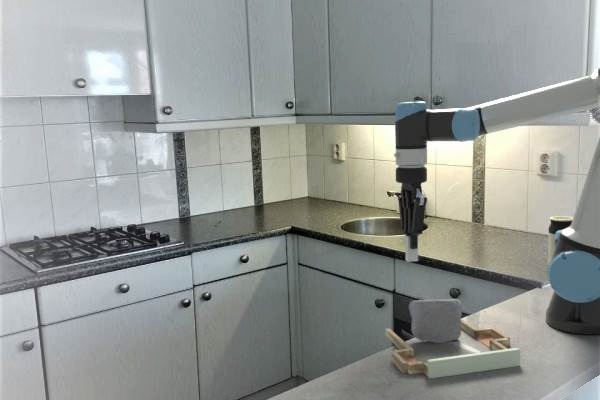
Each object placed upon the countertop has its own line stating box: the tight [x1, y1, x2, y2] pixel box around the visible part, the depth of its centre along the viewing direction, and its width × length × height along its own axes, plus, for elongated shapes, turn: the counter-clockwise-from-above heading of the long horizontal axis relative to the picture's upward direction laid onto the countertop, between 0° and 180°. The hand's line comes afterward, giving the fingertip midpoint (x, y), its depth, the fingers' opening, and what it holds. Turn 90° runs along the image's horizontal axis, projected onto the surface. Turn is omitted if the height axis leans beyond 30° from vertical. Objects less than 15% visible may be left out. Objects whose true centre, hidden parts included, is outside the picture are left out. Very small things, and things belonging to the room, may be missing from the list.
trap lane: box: [385, 319, 521, 379], centre depth 129 cm, size 28×24×4 cm
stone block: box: [408, 298, 463, 344], centre depth 134 cm, size 12×5×10 cm, turn 92°
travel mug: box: [547, 215, 574, 266], centre depth 188 cm, size 8×8×18 cm
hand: (411, 260), depth 145 cm, fingers closed
